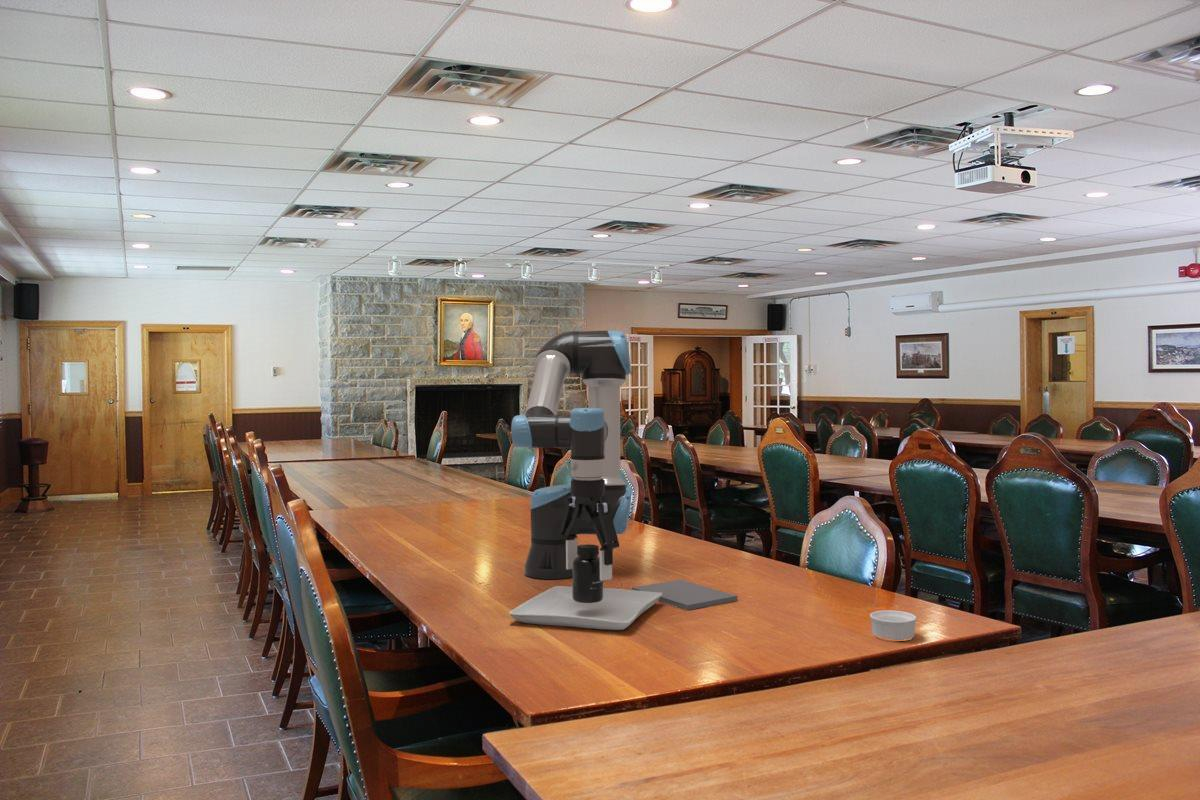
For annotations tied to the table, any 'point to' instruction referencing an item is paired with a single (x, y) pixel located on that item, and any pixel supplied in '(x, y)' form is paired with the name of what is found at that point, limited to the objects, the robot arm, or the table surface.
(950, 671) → the table surface
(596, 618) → the square plate
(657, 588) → the folder
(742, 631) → the table surface
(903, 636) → the ramekin
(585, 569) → the supplement bottle
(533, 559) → the robot arm
